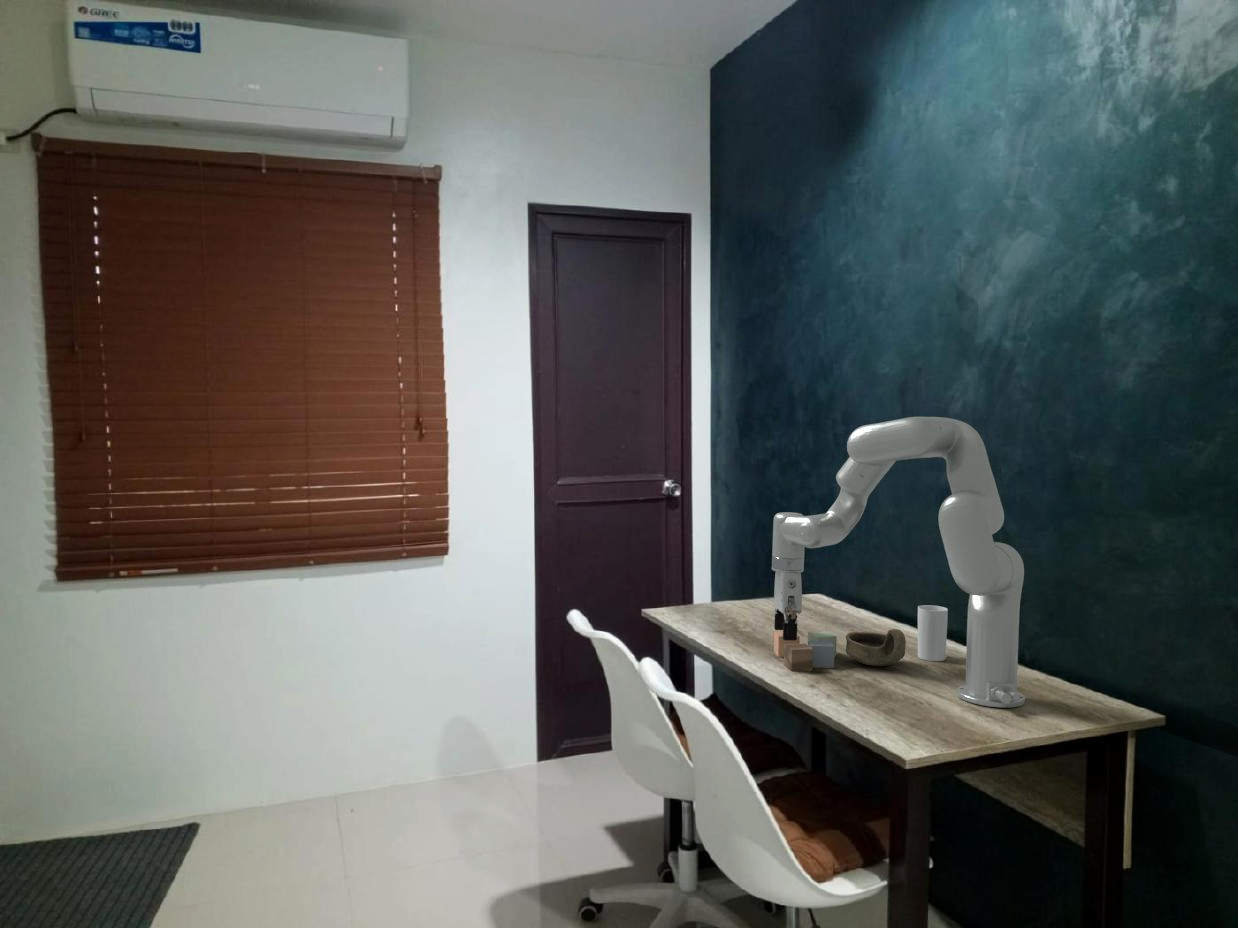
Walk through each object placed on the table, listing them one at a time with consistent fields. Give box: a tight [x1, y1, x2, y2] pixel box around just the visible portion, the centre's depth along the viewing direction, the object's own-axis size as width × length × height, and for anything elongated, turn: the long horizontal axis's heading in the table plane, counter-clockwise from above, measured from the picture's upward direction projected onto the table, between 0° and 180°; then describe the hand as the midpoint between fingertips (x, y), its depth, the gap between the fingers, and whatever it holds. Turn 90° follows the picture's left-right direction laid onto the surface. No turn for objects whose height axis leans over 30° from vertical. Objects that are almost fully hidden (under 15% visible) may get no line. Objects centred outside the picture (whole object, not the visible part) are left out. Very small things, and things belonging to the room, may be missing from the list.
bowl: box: [845, 628, 907, 667], centre depth 198 cm, size 14×18×10 cm
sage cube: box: [807, 631, 837, 658], centre depth 208 cm, size 5×5×5 cm
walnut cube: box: [783, 642, 814, 672], centre depth 196 cm, size 5×5×5 cm
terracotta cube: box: [773, 631, 801, 658], centre depth 208 cm, size 5×5×5 cm
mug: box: [917, 604, 949, 662], centre depth 207 cm, size 10×7×12 cm, turn 7°
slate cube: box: [809, 641, 835, 669], centre depth 199 cm, size 5×5×5 cm
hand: (785, 634), depth 208 cm, fingers open, 9 cm apart
